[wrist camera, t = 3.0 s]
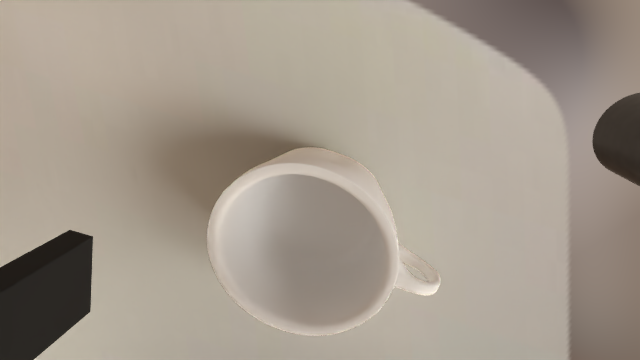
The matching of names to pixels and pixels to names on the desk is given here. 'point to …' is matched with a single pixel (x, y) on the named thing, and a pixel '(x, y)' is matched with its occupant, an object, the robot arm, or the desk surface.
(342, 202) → the teacup
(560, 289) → the desk surface
